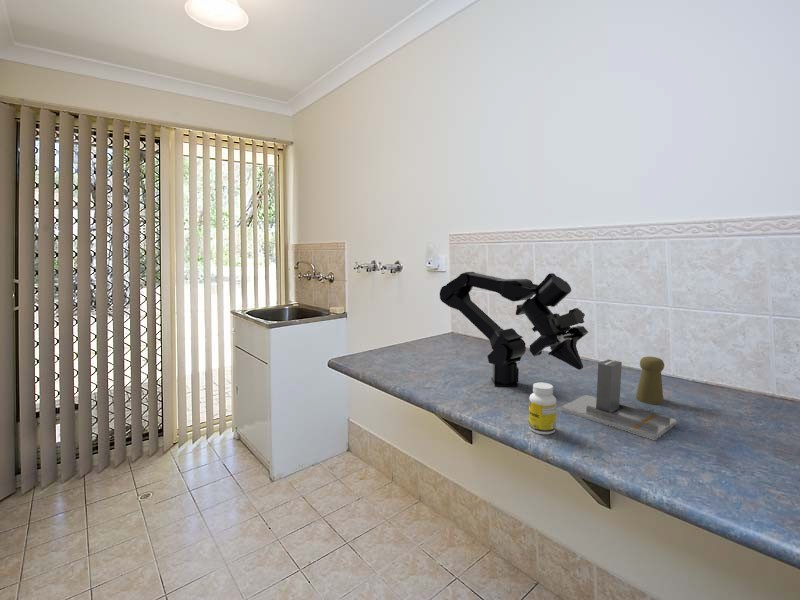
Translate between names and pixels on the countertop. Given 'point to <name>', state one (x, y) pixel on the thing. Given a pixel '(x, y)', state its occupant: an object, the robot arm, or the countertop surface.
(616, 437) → the countertop surface
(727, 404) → the countertop surface
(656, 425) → the plate
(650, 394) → the cork
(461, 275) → the robot arm
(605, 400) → the fader tab
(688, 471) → the countertop surface
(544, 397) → the supplement bottle
